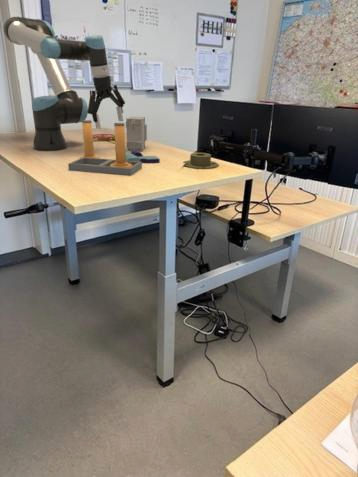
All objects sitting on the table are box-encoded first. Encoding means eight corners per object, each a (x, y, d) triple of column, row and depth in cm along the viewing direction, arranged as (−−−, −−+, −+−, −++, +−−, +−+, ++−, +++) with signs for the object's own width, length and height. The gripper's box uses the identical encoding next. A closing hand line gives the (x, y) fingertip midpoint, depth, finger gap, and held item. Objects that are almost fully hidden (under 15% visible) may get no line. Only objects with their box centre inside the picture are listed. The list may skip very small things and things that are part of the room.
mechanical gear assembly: (107, 136, 212) (83, 138, 204) (107, 129, 210) (82, 131, 202) (130, 144, 189) (104, 147, 182) (130, 136, 188) (103, 139, 180)
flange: (213, 151, 155) (179, 151, 152) (223, 158, 141) (186, 158, 139) (212, 161, 157) (179, 162, 154) (222, 170, 143) (185, 170, 141)
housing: (69, 173, 130) (68, 163, 129) (84, 166, 141) (83, 157, 139) (131, 178, 126) (130, 169, 124) (141, 171, 136) (141, 161, 135)
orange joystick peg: (76, 164, 144) (72, 121, 137) (85, 160, 151) (82, 119, 144) (94, 165, 142) (91, 122, 135) (103, 161, 149) (100, 120, 142)
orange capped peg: (106, 171, 129) (104, 124, 122) (115, 166, 136) (113, 121, 129) (127, 173, 127) (126, 125, 120) (135, 168, 134) (134, 122, 127)
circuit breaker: (147, 146, 183) (147, 116, 177) (142, 152, 170) (141, 119, 164) (133, 146, 184) (132, 115, 177) (126, 151, 171) (125, 118, 164)
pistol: (163, 166, 146) (128, 169, 139) (148, 159, 158) (115, 161, 152) (163, 156, 144) (128, 158, 138) (148, 149, 157) (115, 151, 150)
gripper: (82, 82, 146) (93, 133, 158) (127, 71, 161) (134, 118, 173) (72, 80, 151) (83, 130, 162) (117, 70, 166) (124, 117, 177)
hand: (110, 124), depth 168 cm, fingers open, 13 cm apart
